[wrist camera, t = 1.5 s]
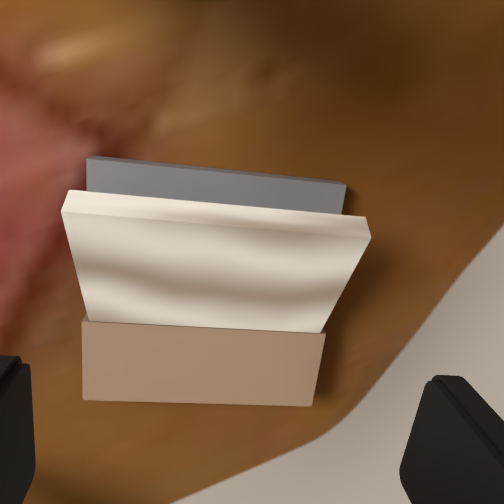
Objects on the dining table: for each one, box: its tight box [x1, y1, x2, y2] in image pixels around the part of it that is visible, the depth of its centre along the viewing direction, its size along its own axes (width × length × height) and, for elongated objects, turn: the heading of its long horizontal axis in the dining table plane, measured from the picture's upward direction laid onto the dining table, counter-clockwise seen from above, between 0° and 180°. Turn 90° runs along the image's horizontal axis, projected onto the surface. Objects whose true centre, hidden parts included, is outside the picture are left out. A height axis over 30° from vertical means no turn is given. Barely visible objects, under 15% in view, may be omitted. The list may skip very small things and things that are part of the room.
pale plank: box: [61, 190, 371, 333], centre depth 25 cm, size 10×15×2 cm, turn 82°
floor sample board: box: [82, 156, 347, 406], centre depth 29 cm, size 16×16×3 cm
